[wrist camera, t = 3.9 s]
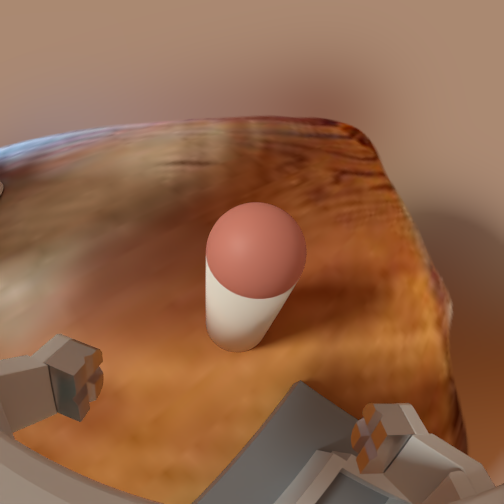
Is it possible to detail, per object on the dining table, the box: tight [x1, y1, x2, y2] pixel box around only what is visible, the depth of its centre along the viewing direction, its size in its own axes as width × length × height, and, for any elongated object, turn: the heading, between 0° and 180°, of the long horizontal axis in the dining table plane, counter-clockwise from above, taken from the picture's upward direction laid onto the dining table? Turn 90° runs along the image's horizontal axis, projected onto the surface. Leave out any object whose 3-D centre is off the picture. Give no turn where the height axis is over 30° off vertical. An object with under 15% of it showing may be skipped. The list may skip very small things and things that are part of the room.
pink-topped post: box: [206, 202, 306, 352], centre depth 17 cm, size 4×4×12 cm
